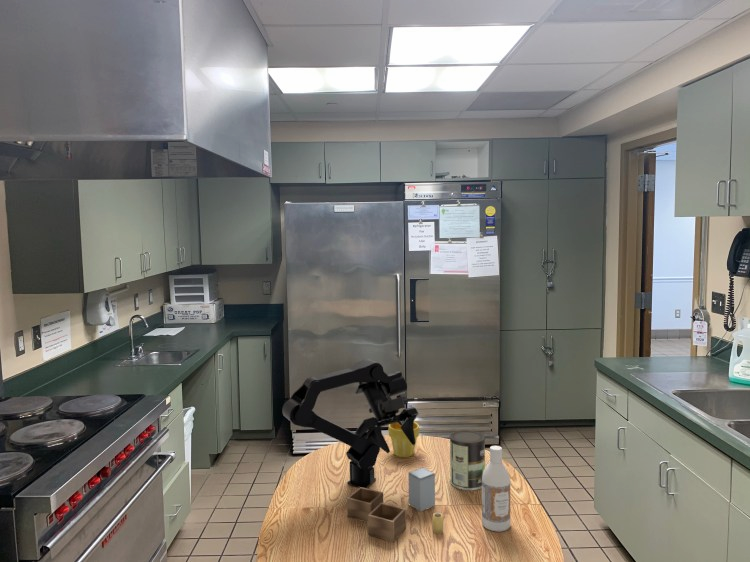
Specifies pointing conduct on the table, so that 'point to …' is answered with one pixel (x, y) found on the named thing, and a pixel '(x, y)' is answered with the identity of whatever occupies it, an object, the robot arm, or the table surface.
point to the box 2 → (387, 522)
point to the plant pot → (402, 440)
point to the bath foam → (496, 493)
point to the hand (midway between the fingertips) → (401, 448)
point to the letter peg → (437, 523)
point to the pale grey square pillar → (421, 489)
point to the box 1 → (363, 503)
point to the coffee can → (467, 459)
